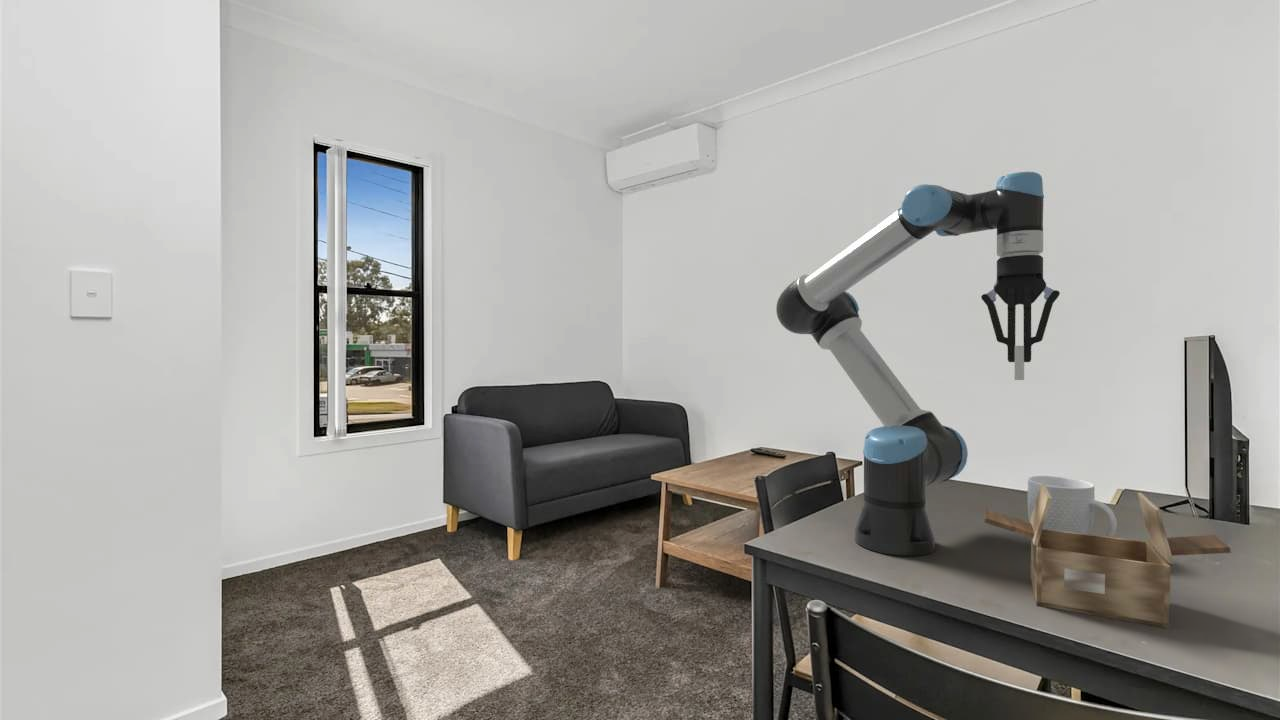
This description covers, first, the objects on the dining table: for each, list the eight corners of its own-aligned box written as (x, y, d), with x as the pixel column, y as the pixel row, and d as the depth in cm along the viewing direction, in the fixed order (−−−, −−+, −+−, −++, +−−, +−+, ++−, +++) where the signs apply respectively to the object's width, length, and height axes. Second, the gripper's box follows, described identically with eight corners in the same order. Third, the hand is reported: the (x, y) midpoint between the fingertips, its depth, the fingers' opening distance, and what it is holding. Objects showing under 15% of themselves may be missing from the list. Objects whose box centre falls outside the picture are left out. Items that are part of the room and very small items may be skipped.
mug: (1126, 554, 117) (1128, 487, 116) (1103, 566, 111) (1104, 495, 110) (1041, 533, 129) (1042, 473, 129) (1016, 543, 123) (1017, 480, 123)
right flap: (1154, 509, 88) (1222, 504, 84) (1137, 492, 98) (1197, 487, 94) (1169, 563, 87) (1238, 560, 84) (1150, 540, 97) (1211, 537, 93)
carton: (1036, 605, 95) (1037, 548, 95) (1030, 578, 105) (1031, 527, 105) (1168, 628, 87) (1170, 567, 87) (1147, 596, 98) (1149, 541, 97)
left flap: (1044, 483, 104) (995, 469, 107) (1051, 499, 94) (997, 483, 97) (1031, 526, 105) (983, 511, 108) (1037, 545, 95) (984, 528, 99)
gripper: (978, 257, 116) (978, 380, 117) (1061, 250, 109) (1061, 381, 109) (982, 261, 122) (982, 377, 123) (1060, 255, 115) (1060, 379, 116)
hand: (1019, 379), depth 116 cm, fingers closed
